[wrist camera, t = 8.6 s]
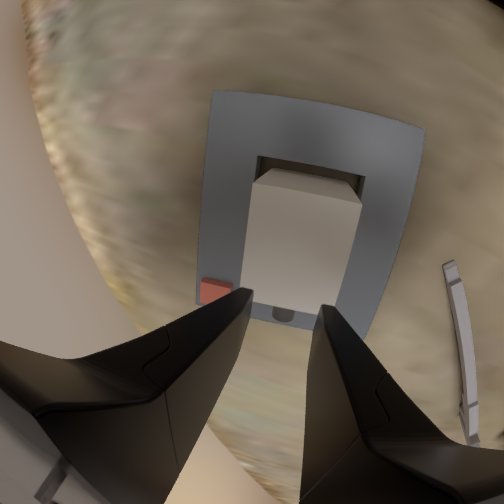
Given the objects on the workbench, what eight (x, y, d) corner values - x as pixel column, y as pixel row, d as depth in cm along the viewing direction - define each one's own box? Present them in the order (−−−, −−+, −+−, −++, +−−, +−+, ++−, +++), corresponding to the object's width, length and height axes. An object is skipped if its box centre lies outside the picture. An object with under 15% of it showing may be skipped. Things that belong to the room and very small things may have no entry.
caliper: (466, 410, 22) (479, 453, 16) (458, 414, 22) (470, 457, 16) (452, 257, 17) (492, 305, 11) (439, 263, 17) (477, 313, 11)
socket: (417, 129, 14) (430, 129, 12) (362, 326, 20) (365, 345, 18) (221, 93, 16) (209, 88, 14) (202, 293, 21) (192, 308, 20)
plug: (347, 181, 16) (362, 204, 11) (322, 284, 19) (322, 340, 14) (273, 167, 17) (252, 182, 12) (257, 270, 20) (235, 322, 14)
